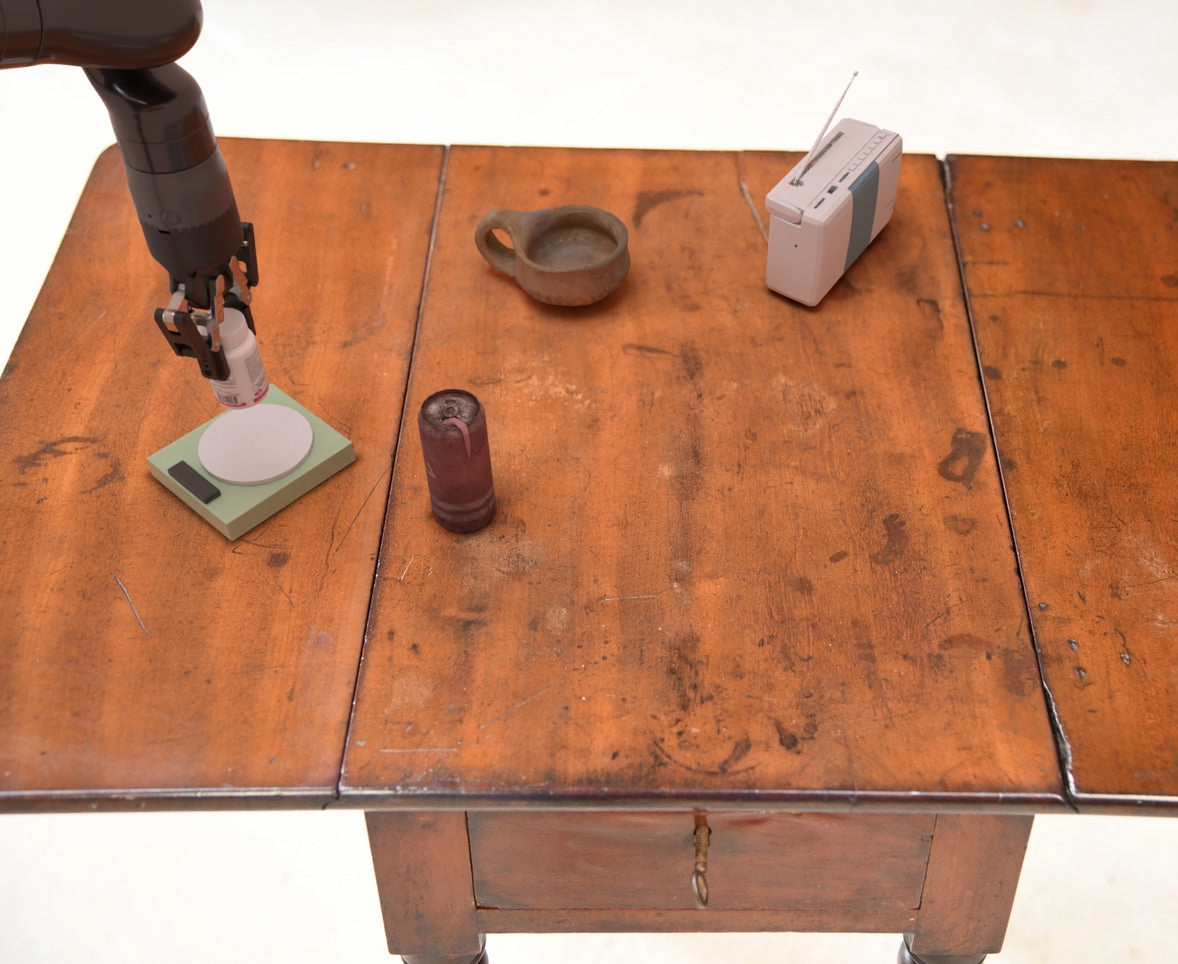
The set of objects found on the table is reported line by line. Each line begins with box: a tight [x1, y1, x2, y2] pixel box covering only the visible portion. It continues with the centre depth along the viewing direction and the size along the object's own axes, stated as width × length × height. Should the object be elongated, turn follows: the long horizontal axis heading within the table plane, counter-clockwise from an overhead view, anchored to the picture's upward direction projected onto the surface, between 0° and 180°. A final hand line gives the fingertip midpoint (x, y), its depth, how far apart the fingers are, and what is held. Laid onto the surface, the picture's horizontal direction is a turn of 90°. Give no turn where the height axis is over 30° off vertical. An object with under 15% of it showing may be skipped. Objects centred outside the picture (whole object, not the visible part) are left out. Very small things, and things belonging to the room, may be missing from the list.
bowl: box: [474, 203, 631, 307], centre depth 158 cm, size 18×14×10 cm
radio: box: [764, 70, 904, 307], centre depth 160 cm, size 21×8×20 cm, turn 150°
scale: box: [145, 382, 357, 542], centre depth 139 cm, size 15×13×3 cm
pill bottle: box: [198, 308, 269, 410], centre depth 123 cm, size 5×5×8 cm
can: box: [417, 388, 497, 534], centre depth 132 cm, size 6×6×14 cm
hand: (231, 356), depth 123 cm, fingers closed on pill bottle, 4 cm apart
